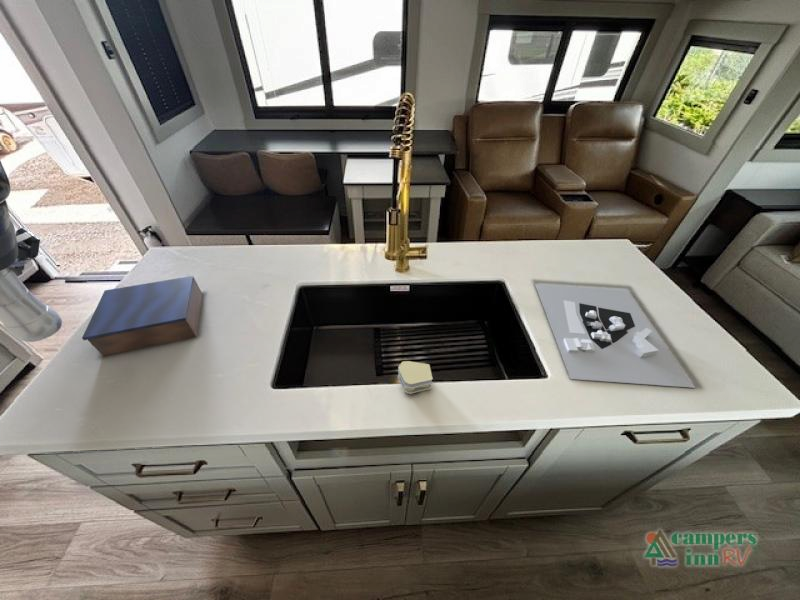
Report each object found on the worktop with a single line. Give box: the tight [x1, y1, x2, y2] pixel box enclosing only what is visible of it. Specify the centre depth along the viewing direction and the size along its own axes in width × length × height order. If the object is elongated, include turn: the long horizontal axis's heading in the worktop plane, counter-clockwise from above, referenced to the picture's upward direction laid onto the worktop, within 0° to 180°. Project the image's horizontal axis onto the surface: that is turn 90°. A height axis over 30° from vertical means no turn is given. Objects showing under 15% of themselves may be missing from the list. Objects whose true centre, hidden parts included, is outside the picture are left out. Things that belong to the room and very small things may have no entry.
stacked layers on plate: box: [397, 360, 434, 395], centre depth 72 cm, size 10×9×6 cm
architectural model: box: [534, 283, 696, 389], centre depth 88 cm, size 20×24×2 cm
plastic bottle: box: [0, 267, 63, 343], centre depth 53 cm, size 6×7×20 cm
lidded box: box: [87, 278, 203, 357], centre depth 83 cm, size 20×17×7 cm
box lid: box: [81, 275, 195, 341], centre depth 80 cm, size 20×17×1 cm
